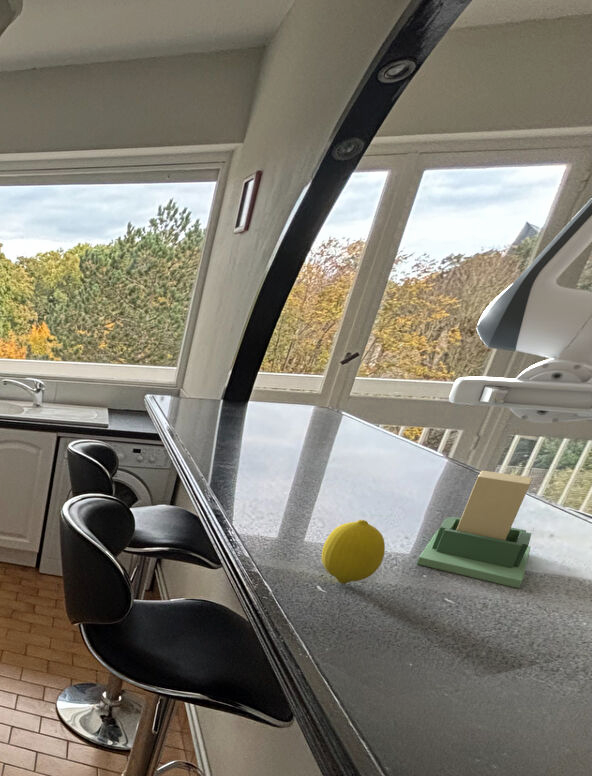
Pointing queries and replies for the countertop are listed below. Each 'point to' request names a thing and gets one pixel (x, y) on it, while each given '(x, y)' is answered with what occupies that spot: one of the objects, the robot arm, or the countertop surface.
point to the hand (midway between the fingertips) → (547, 400)
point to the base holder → (478, 554)
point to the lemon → (353, 551)
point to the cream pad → (493, 504)
